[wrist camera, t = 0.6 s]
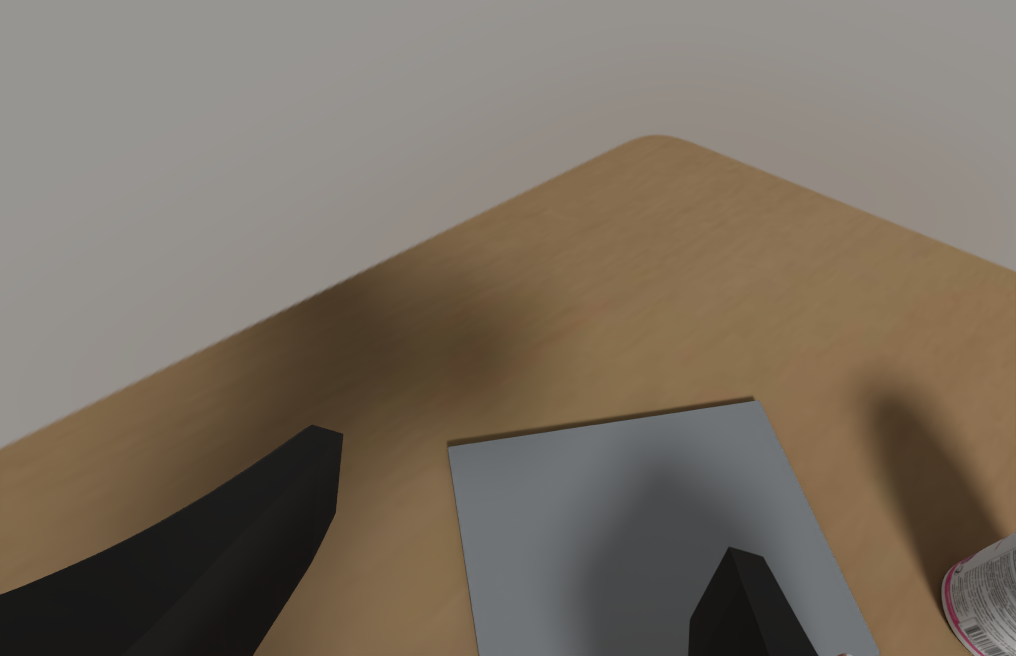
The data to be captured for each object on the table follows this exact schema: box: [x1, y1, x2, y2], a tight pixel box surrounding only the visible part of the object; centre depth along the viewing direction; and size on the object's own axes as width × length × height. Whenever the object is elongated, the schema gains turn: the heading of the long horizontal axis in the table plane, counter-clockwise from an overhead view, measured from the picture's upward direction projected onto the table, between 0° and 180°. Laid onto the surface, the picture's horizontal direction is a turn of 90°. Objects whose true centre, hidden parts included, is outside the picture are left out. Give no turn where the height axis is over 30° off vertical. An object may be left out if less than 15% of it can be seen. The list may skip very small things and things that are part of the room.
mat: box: [448, 400, 881, 656], centre depth 29 cm, size 12×16×1 cm
